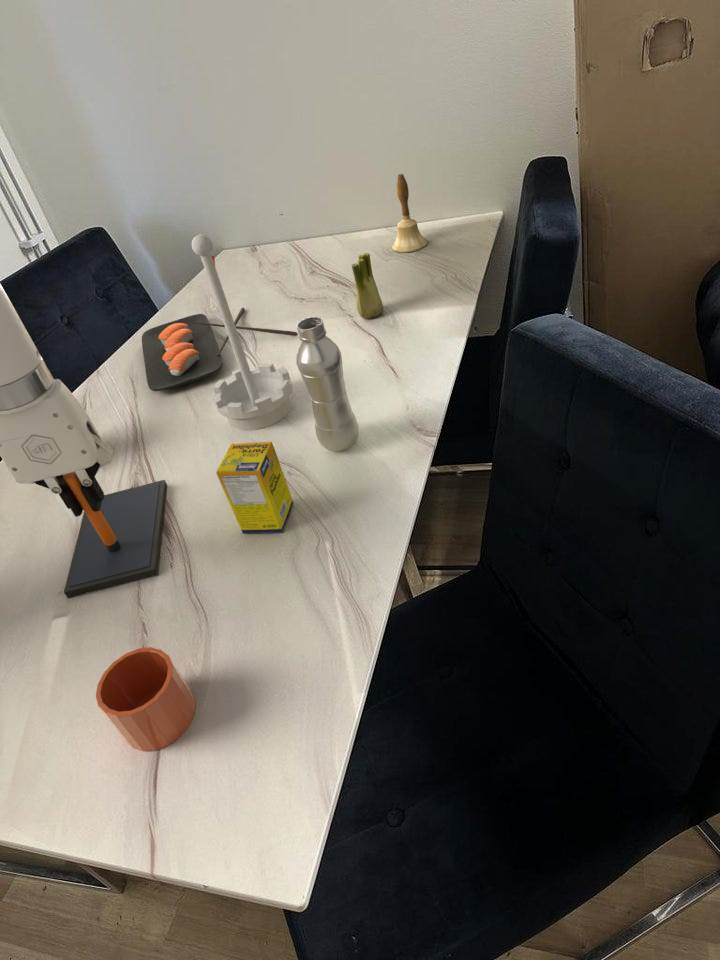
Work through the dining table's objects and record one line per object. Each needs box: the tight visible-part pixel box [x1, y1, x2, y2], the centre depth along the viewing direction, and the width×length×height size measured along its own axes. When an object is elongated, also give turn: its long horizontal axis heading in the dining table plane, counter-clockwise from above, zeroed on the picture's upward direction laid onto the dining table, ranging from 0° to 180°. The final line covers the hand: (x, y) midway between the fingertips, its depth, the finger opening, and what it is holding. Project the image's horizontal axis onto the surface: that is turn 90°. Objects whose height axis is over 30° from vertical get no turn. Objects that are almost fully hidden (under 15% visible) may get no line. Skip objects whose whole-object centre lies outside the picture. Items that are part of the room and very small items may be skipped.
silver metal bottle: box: [295, 316, 360, 452], centre depth 94 cm, size 6×7×20 cm
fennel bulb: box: [351, 252, 384, 320], centre depth 128 cm, size 6×5×12 cm
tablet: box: [63, 479, 168, 599], centre depth 93 cm, size 12×19×1 cm, turn 9°
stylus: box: [63, 472, 120, 552], centre depth 85 cm, size 2×2×13 cm
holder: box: [95, 647, 196, 752], centre depth 67 cm, size 8×8×7 cm
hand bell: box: [391, 173, 428, 253], centre depth 151 cm, size 8×8×16 cm
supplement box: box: [216, 441, 294, 535], centre depth 87 cm, size 6×6×11 cm
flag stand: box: [191, 234, 293, 431], centre depth 103 cm, size 13×13×30 cm
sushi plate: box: [141, 307, 298, 392], centre depth 133 cm, size 29×30×4 cm
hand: (89, 506), depth 85 cm, fingers closed on stylus, 1 cm apart
